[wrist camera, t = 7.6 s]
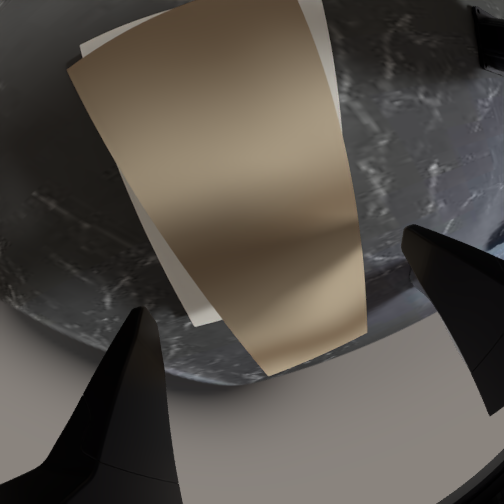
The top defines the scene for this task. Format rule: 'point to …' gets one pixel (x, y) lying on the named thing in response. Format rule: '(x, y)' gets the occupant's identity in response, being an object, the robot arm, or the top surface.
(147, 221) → the peg stand
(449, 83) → the top surface
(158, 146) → the maple board
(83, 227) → the top surface
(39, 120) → the top surface
